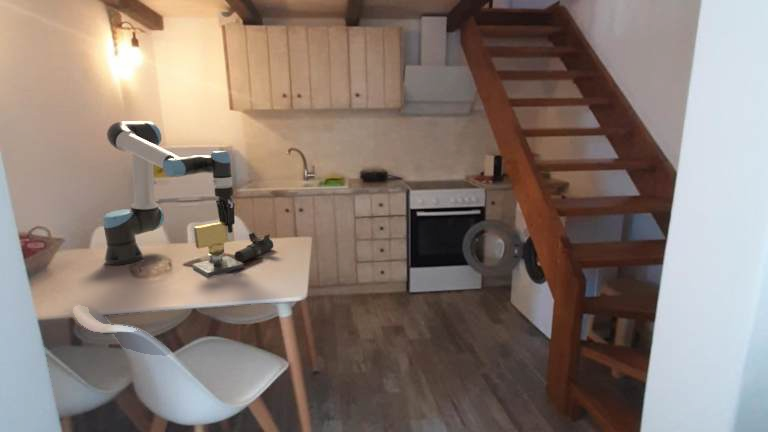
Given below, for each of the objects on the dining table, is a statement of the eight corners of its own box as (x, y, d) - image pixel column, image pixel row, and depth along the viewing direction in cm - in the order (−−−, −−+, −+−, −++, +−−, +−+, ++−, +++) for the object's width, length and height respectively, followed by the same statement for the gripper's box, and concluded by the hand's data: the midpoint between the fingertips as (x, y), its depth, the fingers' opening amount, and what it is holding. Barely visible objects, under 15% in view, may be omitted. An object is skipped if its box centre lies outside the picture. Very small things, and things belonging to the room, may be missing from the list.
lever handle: (195, 255, 181) (192, 226, 178) (230, 247, 192) (227, 219, 189) (201, 258, 177) (198, 228, 174) (237, 249, 188) (234, 221, 185)
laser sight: (231, 262, 194) (229, 241, 192) (262, 248, 215) (260, 229, 212) (248, 264, 191) (246, 243, 188) (278, 250, 211) (276, 231, 209)
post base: (193, 268, 186) (191, 253, 184) (227, 259, 197) (226, 245, 195) (208, 277, 175) (206, 261, 173) (243, 267, 186) (242, 252, 184)
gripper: (207, 186, 185) (213, 237, 190) (223, 189, 174) (228, 243, 179) (223, 184, 190) (228, 233, 195) (239, 187, 179) (244, 239, 185)
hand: (228, 238), depth 187 cm, fingers closed on lever handle, 2 cm apart
